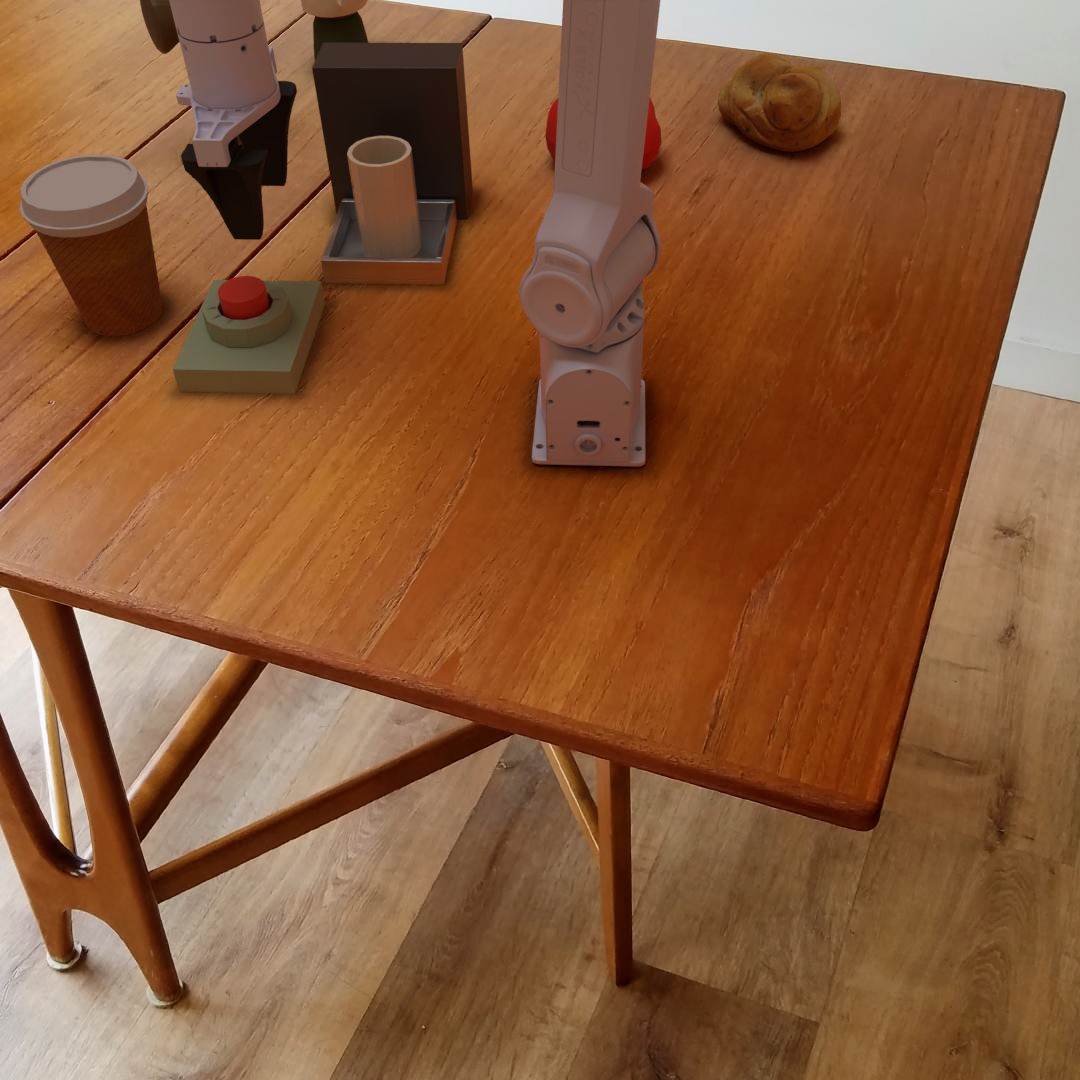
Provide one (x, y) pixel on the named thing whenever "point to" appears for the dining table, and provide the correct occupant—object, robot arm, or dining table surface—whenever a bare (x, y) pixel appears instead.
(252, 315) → the button
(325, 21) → the character mug
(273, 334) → the switch block
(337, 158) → the coffee machine
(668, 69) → the dining table surface
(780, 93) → the bread roll
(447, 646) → the dining table surface
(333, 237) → the pan
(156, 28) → the kendama
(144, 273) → the disposable coffee cup
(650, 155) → the tomato
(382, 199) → the beige hollow cylinder
